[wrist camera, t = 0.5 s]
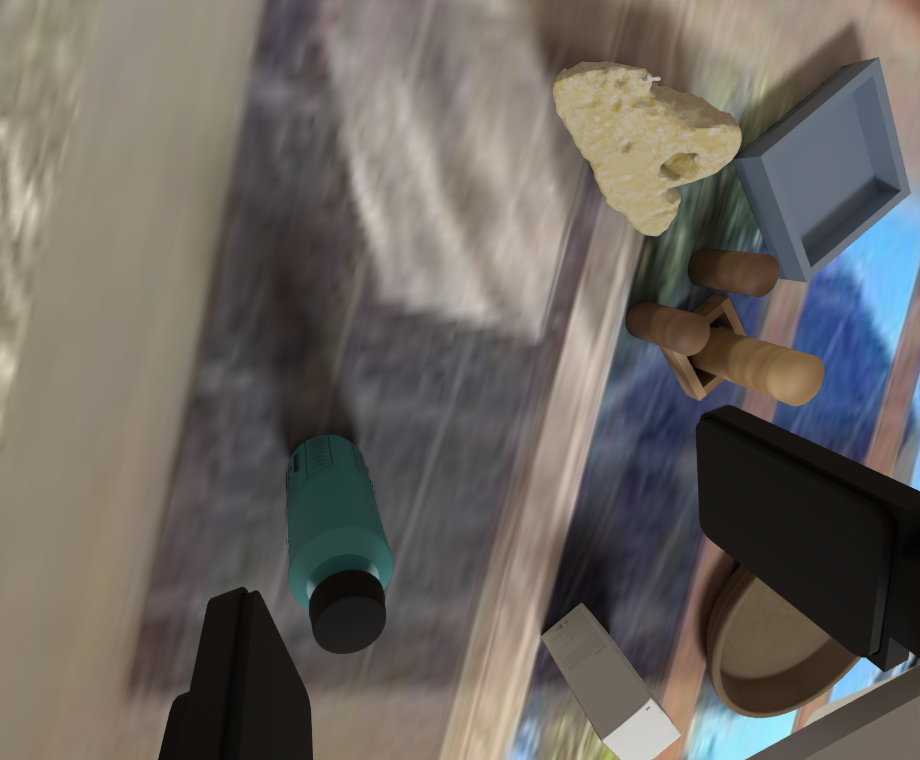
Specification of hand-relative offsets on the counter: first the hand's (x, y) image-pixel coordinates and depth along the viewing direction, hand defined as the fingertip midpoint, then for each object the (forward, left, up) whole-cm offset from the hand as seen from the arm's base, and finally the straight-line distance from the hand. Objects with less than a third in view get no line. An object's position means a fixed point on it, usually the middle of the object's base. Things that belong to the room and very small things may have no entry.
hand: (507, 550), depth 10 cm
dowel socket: (+27, +24, -34) cm, 50 cm away
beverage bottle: (+10, -11, -34) cm, 37 cm away
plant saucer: (+71, +18, -35) cm, 81 cm away
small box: (+48, -6, -34) cm, 59 cm away
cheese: (+4, +24, -34) cm, 42 cm away
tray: (+20, +42, -34) cm, 58 cm away
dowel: (+27, +24, -34) cm, 50 cm away
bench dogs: (+20, +24, -34) cm, 46 cm away
